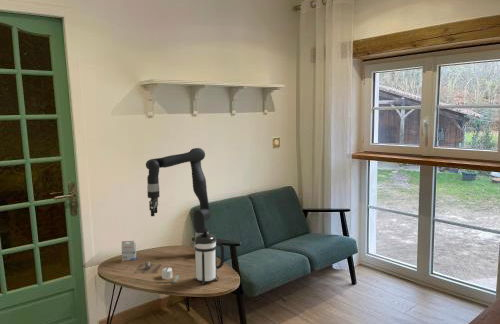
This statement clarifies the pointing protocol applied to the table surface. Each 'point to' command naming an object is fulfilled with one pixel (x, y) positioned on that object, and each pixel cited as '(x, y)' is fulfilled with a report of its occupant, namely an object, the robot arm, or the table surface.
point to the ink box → (128, 250)
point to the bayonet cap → (166, 273)
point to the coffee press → (206, 257)
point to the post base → (152, 268)
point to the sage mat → (170, 282)
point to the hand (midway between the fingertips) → (154, 214)
